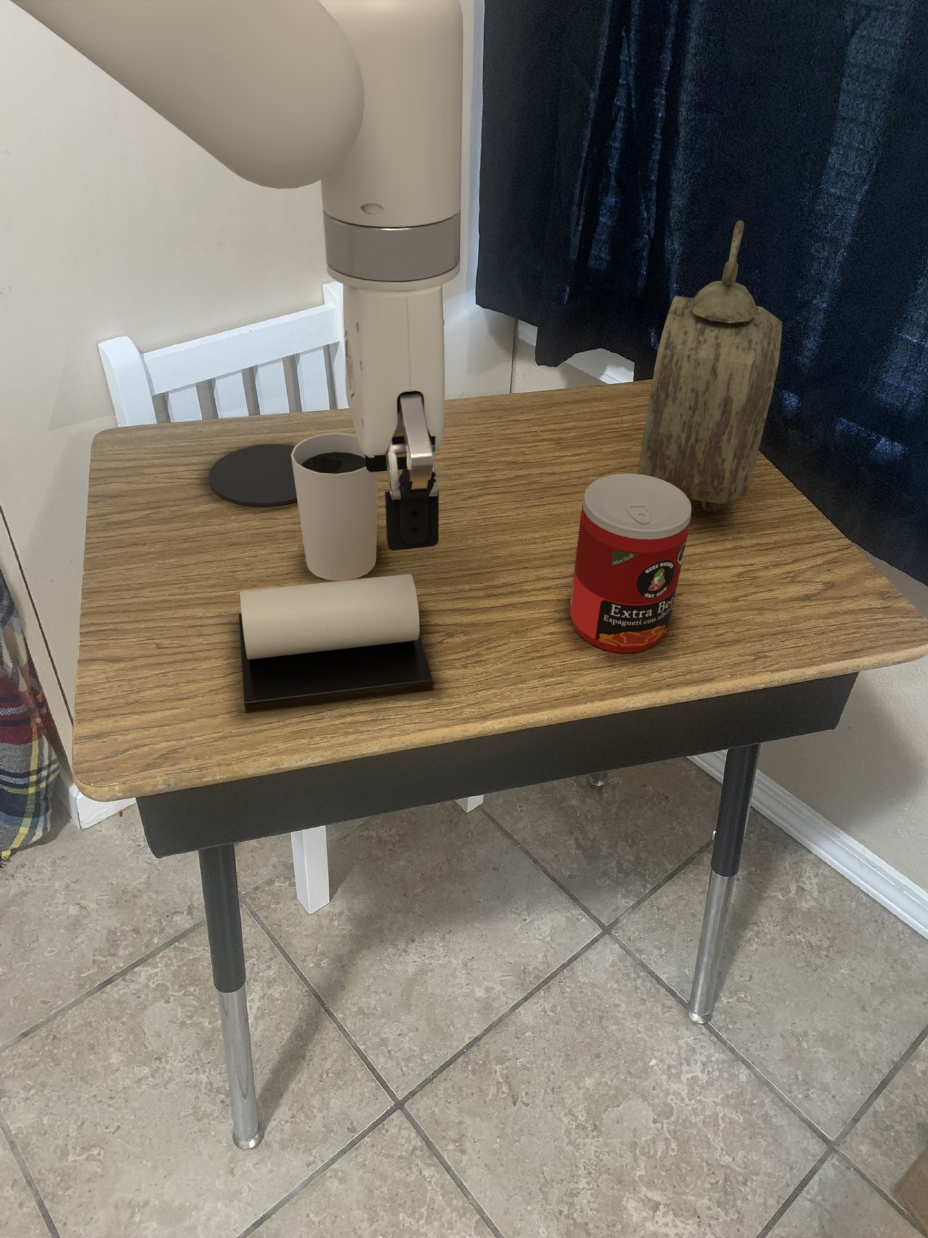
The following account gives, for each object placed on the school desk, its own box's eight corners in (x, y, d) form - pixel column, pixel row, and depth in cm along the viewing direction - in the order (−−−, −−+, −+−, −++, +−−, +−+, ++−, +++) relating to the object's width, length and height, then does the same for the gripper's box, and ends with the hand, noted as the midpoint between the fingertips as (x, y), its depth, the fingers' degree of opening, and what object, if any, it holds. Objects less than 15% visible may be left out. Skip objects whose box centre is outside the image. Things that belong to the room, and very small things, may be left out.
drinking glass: (300, 586, 78) (290, 476, 72) (300, 540, 83) (291, 434, 77) (384, 582, 79) (381, 473, 73) (379, 536, 84) (376, 431, 78)
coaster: (210, 511, 86) (209, 507, 86) (208, 452, 95) (208, 448, 95) (334, 501, 88) (334, 497, 88) (322, 443, 97) (322, 439, 97)
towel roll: (248, 673, 68) (240, 619, 65) (245, 630, 71) (238, 577, 69) (420, 653, 70) (420, 600, 67) (408, 613, 74) (408, 560, 71)
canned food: (598, 665, 72) (617, 539, 65) (550, 603, 77) (563, 481, 71) (688, 642, 74) (715, 519, 67) (635, 584, 80) (655, 464, 73)
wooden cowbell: (648, 462, 96) (693, 193, 80) (743, 478, 94) (807, 205, 78) (626, 540, 85) (673, 246, 69) (732, 559, 83) (805, 261, 67)
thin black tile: (245, 713, 67) (243, 703, 66) (240, 623, 74) (238, 613, 74) (433, 690, 69) (433, 679, 68) (409, 605, 77) (409, 595, 76)
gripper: (310, 200, 60) (329, 448, 71) (344, 303, 47) (361, 588, 58) (430, 195, 62) (431, 439, 72) (495, 293, 48) (484, 574, 59)
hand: (400, 505), depth 65 cm, fingers open, 9 cm apart
